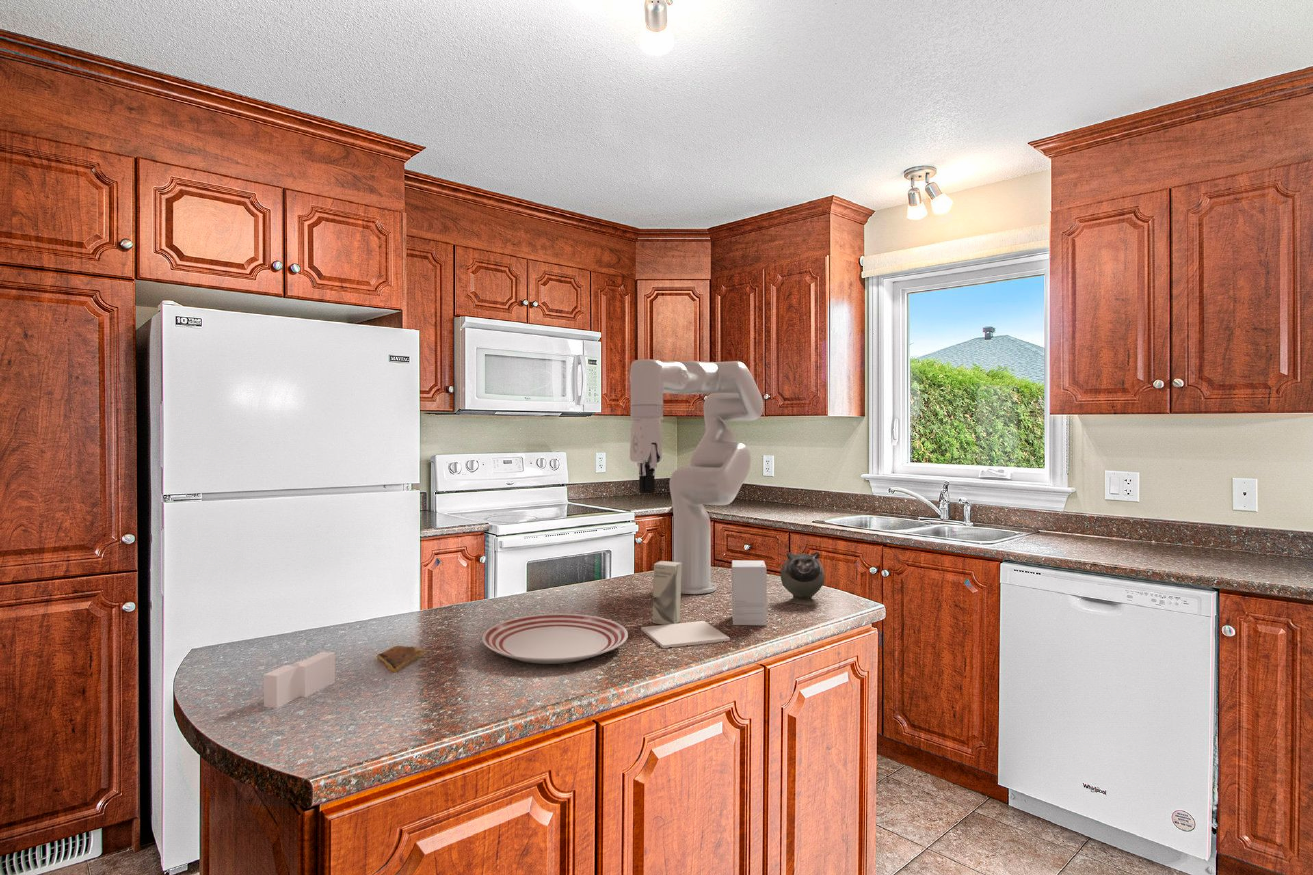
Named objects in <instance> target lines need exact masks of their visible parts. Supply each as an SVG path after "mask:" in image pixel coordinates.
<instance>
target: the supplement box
mask: <svg viewBox="0 0 1313 875" xmlns="http://www.w3.org/2000/svg"><path fill="white" fill-rule="evenodd" d="M767 576H768V574H767V565H766V563H765V561H764V560H737V559H736V560H734V559H733V560H731V615H732V616H731V617H732V626H767V625H768V617H767V614H768V613H767V612H768V611H767V610H768V609H767V608H768V607H767V606H768V604H767V601H768V600H767V597H768V594H767V593H768V590H767V588H768V587H767V584H768V583H767V582H768V581H767V578H768V577H767Z"/></svg>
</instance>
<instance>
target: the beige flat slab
mask: <svg viewBox="0 0 1313 875" xmlns="http://www.w3.org/2000/svg"><path fill="white" fill-rule="evenodd" d="M640 630H641V632H643V633H644V634H645V635H646V636H648V637H649V638H650V639H651V640H653V641H654V643H656V644H657V645H658V646H659V645H660V647H661V648H662V649H670V648H669V647H672V648H679V647H687V645H688V646H689V647H690V646H697V645H704V644H714V643H722V642H723V641H724V642H730V641H731V638H730V637H729V636H728V635H726V633H723V632H722V631H720V630H719V629H717V628H715V627H714V626H712V625H711V624H710V623H708V622H706V621H704V620H699V621H697V620H696V621H690V622H689V621H687V622H681V623H679V622H678V623H676V624H668V625H663V624H657V625H651V626H641V628H640ZM724 642H723V643H724Z"/></svg>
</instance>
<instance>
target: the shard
mask: <svg viewBox="0 0 1313 875" xmlns="http://www.w3.org/2000/svg"><path fill="white" fill-rule="evenodd" d="M424 655H426V650H425V649H422V648H420V647H417V646H408V645H407V646H404V645H394V646H392V647H390V648H389V649H387V650H385V651H381V653H377V655H376V658H377V659H378V660H379V661H381V662H383V663H384V664H385V666H386V667H387V669H388V670H389V671H391V672H393V673H395V674H397V673H398V672H400V671H401V670H403V669H404V668H405V667H406V666H408V665H409V664H410V663H411V664H412V662H414V661H416V660H417V659H419V658H421V657H423V656H424Z"/></svg>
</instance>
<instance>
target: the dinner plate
mask: <svg viewBox="0 0 1313 875" xmlns="http://www.w3.org/2000/svg"><path fill="white" fill-rule="evenodd" d="M628 633H629V632H628V630H627V628H625V626H623V625H622V624H620V623H618V622H616V621H614V620H611V619H608V618H605V617H600V616H594V615H588V614H579V613H565V612H564V613H563V612H562V613H561V612H560V613H559V612H558V613H557V612H556V613H541V614H531V615H525V616H519V617H516V618H511V619H507V620H504V621H501V622H499V623H497V624H494V625H492V626H490V627H489V628H487V629H486V630H484V632H483V634H482V636H481V641H482V644H483V645H485V647H486V648H488V649H489V650H491V651H493V652H494V653H497V654H499V655H501V656H503V657H507V658H510V659H514V660H517V661H521V662H525V663H530V664H541V665H543V664H545V665H555V664H558V665H559V664H567V663H574V662H580V661H583V660H587V659H589V658H594V657H597V656H600V655H602V654H605V653H607V652H610V651H613V650H615V649H618V648H619V647H621V646H622V645H623V644H624V643H626V641H627V640H628V638H629V634H628Z"/></svg>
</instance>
